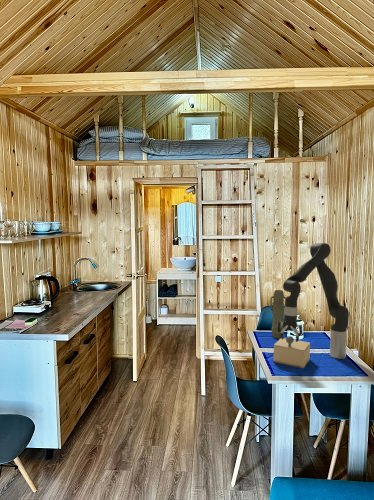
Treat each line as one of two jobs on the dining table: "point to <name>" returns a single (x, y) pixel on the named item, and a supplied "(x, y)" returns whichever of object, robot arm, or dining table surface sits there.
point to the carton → (291, 356)
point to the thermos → (277, 312)
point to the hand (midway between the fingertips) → (289, 340)
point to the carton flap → (292, 344)
